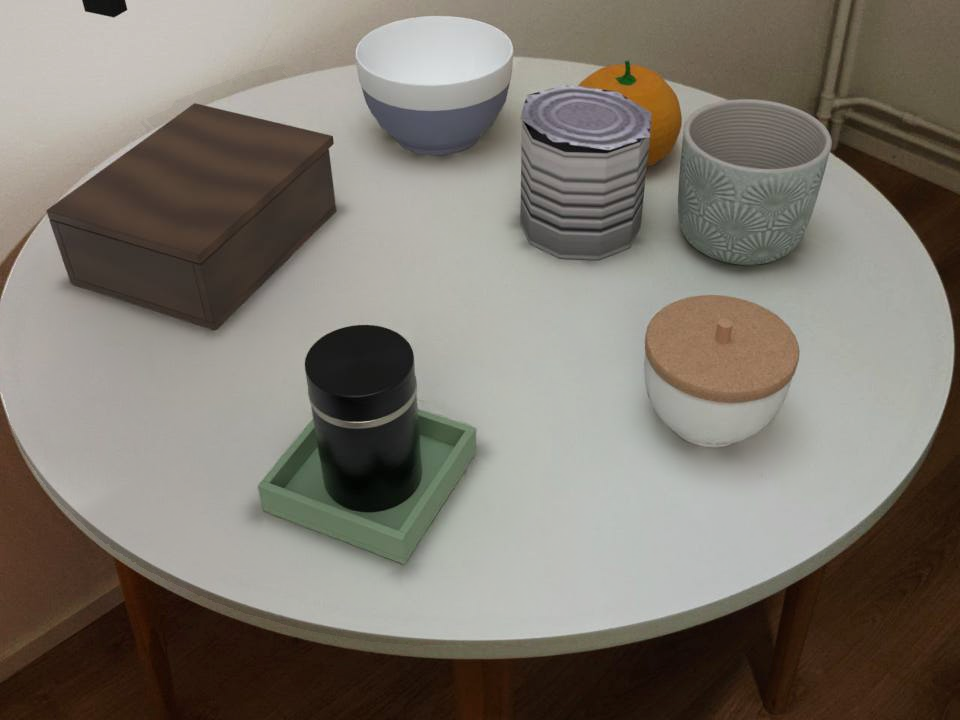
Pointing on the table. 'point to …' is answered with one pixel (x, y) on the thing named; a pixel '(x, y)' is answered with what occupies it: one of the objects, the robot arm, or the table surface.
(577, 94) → the can
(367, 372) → the black canister
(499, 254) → the table surface
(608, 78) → the fruit
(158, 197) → the lid
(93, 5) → the robot arm
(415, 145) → the bowl
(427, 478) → the tray
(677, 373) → the trinket box
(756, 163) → the planter
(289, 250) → the chest
